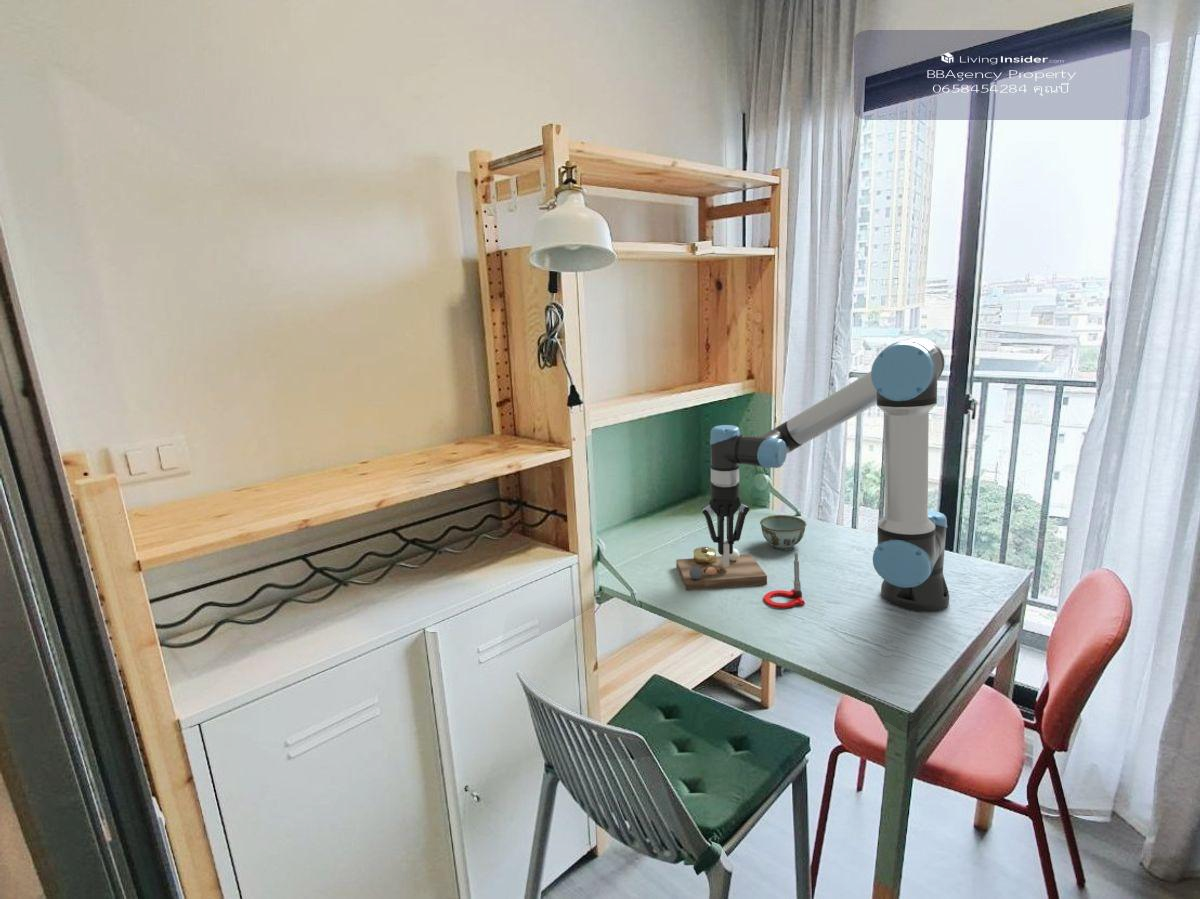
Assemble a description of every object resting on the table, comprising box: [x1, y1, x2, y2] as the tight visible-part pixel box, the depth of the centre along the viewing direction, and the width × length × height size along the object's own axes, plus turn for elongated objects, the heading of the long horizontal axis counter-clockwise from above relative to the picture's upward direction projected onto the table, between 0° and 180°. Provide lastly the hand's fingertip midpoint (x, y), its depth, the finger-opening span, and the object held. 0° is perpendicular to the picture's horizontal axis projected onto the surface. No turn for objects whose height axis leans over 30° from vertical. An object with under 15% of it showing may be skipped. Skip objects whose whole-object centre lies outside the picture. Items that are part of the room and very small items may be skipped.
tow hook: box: [763, 552, 806, 609], centre depth 152 cm, size 8×13×9 cm
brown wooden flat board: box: [675, 553, 768, 591], centre depth 169 cm, size 15×22×2 cm
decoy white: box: [729, 547, 741, 561], centre depth 173 cm, size 4×4×4 cm
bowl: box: [759, 514, 807, 551], centre depth 186 cm, size 14×13×8 cm
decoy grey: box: [689, 566, 702, 579], centre depth 163 cm, size 4×4×4 cm
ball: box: [705, 567, 718, 575], centre depth 167 cm, size 4×4×4 cm
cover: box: [693, 546, 717, 564], centre depth 174 cm, size 6×6×4 cm
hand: (725, 564), depth 167 cm, fingers closed
